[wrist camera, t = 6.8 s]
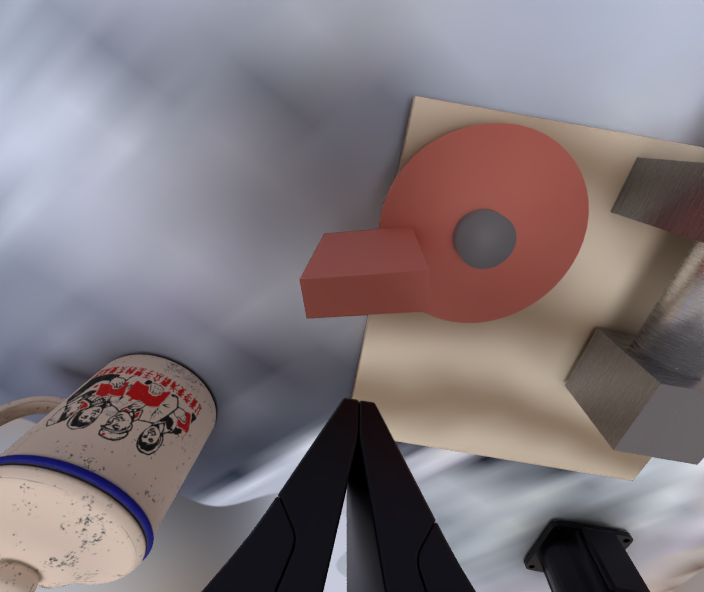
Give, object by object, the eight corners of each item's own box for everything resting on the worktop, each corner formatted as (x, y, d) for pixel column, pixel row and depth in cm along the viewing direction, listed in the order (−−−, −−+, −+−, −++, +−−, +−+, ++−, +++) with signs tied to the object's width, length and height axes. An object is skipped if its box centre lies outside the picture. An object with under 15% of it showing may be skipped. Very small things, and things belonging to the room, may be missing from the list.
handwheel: (592, 111, 14) (759, 94, 8) (557, 306, 18) (652, 396, 12) (316, 142, 15) (275, 147, 9) (339, 318, 19) (322, 406, 13)
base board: (621, 465, 24) (632, 480, 23) (346, 419, 24) (345, 432, 23) (840, 174, 16) (875, 177, 14) (412, 98, 15) (415, 96, 14)
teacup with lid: (233, 375, 23) (114, 577, 13) (209, 459, 27) (101, 667, 16) (54, 314, 22) (-245, 480, 11) (55, 410, 26) (-167, 601, 15)
